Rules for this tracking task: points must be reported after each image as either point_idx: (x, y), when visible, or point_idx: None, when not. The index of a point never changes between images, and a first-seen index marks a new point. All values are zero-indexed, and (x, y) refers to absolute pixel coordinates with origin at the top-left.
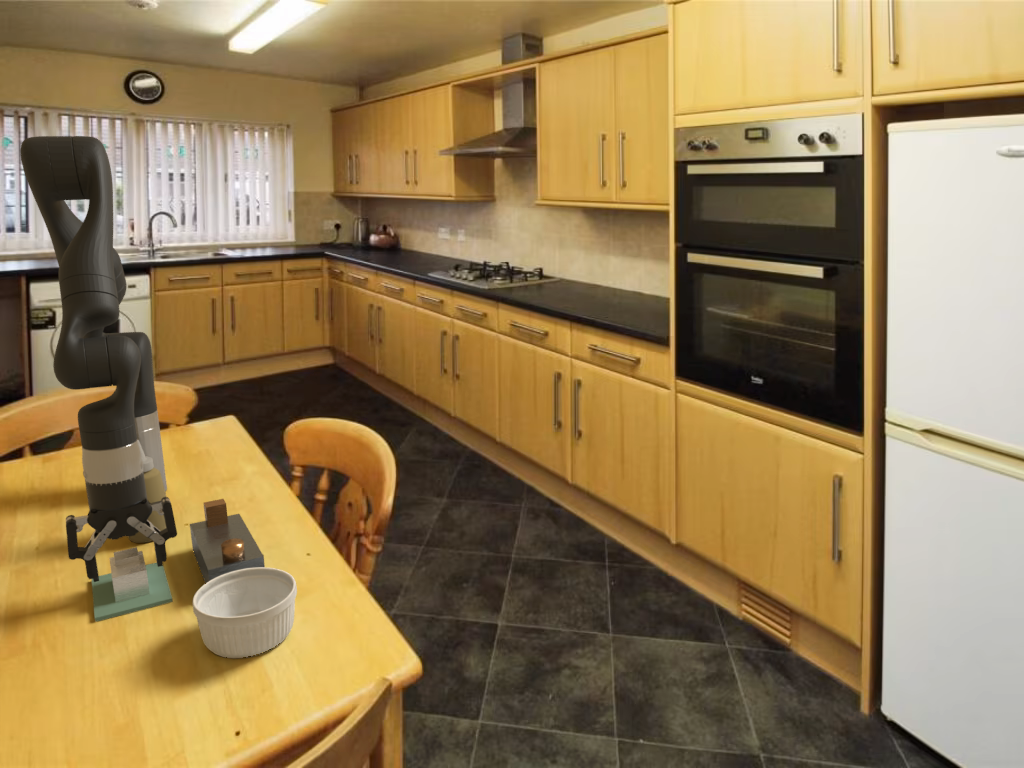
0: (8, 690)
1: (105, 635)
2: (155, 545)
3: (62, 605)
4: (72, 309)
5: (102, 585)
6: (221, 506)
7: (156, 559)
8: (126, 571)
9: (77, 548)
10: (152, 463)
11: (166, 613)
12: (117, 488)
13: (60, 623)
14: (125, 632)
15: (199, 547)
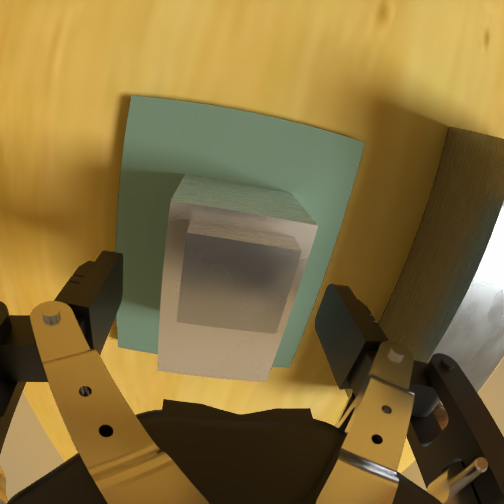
0: (31, 407)
1: (139, 388)
2: (342, 385)
3: (49, 208)
4: None
5: (149, 183)
6: None
7: (329, 307)
8: (207, 358)
9: (15, 406)
10: None
11: (258, 388)
12: None
13: (53, 295)
14: (174, 399)
15: (438, 346)
